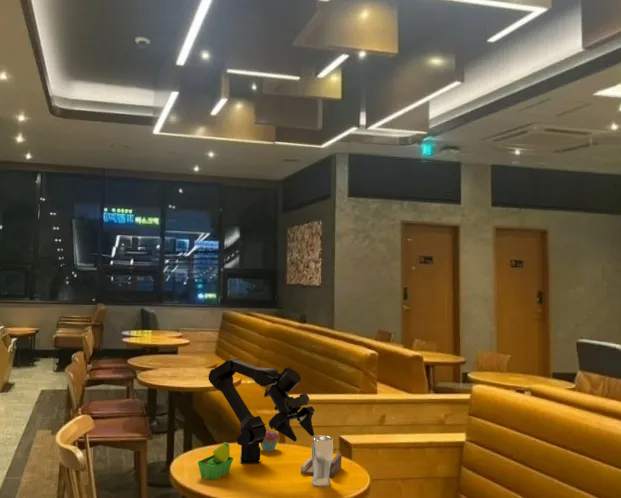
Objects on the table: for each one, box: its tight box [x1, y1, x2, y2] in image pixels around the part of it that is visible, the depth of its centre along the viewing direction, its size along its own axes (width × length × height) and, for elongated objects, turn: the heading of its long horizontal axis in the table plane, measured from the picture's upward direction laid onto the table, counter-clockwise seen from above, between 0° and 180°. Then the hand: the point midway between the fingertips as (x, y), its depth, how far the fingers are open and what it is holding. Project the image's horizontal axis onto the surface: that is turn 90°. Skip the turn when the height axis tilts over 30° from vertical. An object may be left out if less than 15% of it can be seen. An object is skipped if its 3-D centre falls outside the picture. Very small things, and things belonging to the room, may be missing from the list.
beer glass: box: [311, 434, 334, 488], centre depth 208 cm, size 7×7×15 cm
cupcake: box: [260, 420, 280, 452], centre depth 244 cm, size 9×8×12 cm
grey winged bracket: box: [300, 452, 343, 479], centre depth 221 cm, size 11×12×5 cm
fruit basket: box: [197, 441, 234, 480], centre depth 212 cm, size 11×9×11 cm
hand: (304, 438), depth 213 cm, fingers open, 9 cm apart
